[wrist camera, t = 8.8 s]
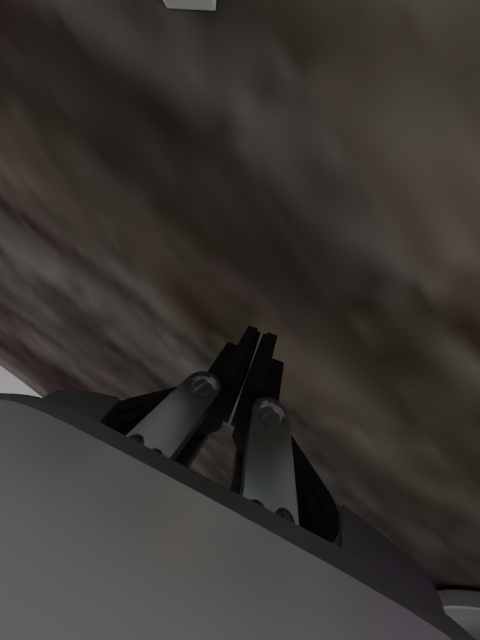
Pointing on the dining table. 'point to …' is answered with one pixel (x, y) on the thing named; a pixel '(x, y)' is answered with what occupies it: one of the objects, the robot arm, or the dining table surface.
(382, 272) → the dining table surface
